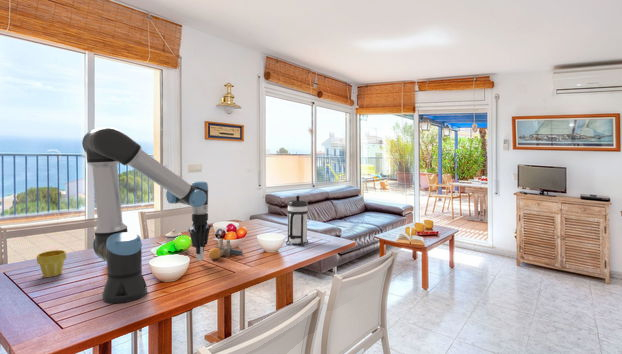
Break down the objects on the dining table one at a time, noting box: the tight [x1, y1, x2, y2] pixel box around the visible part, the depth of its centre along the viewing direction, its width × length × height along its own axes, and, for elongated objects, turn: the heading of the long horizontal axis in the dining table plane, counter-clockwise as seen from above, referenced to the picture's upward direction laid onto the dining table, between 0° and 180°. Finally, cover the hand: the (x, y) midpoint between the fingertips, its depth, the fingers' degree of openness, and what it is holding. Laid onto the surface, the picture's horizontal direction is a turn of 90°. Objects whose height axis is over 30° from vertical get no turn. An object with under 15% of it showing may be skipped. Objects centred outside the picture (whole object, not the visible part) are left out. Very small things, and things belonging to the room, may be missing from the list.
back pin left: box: [217, 238, 224, 251], centre depth 186 cm, size 2×2×8 cm
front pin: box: [219, 244, 232, 258], centre depth 185 cm, size 2×2×8 cm
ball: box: [208, 247, 221, 260], centre depth 178 cm, size 6×6×6 cm
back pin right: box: [224, 239, 231, 258], centre depth 183 cm, size 2×2×8 cm
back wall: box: [223, 246, 243, 256], centre depth 189 cm, size 2×16×2 cm, turn 63°
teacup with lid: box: [164, 229, 183, 244], centre depth 193 cm, size 12×9×12 cm
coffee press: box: [285, 195, 309, 247], centre depth 208 cm, size 17×16×30 cm
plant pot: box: [36, 249, 67, 278], centre depth 152 cm, size 10×10×10 cm
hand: (199, 259), depth 169 cm, fingers closed
